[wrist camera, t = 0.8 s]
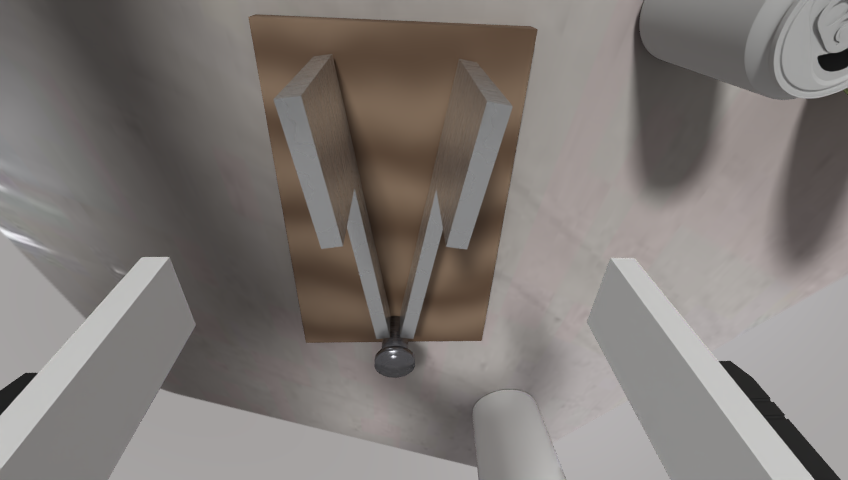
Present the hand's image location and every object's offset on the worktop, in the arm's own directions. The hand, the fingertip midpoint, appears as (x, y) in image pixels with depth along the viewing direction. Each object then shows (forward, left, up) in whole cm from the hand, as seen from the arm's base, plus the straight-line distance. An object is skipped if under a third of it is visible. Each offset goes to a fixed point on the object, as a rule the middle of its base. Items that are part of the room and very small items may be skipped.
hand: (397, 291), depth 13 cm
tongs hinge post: (+21, 0, -19) cm, 28 cm away
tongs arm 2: (+8, +3, -18) cm, 20 cm away
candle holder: (+38, +14, -21) cm, 45 cm away
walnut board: (+9, 0, -20) cm, 22 cm away
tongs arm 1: (+8, -3, -18) cm, 20 cm away
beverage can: (-7, +19, -21) cm, 29 cm away
